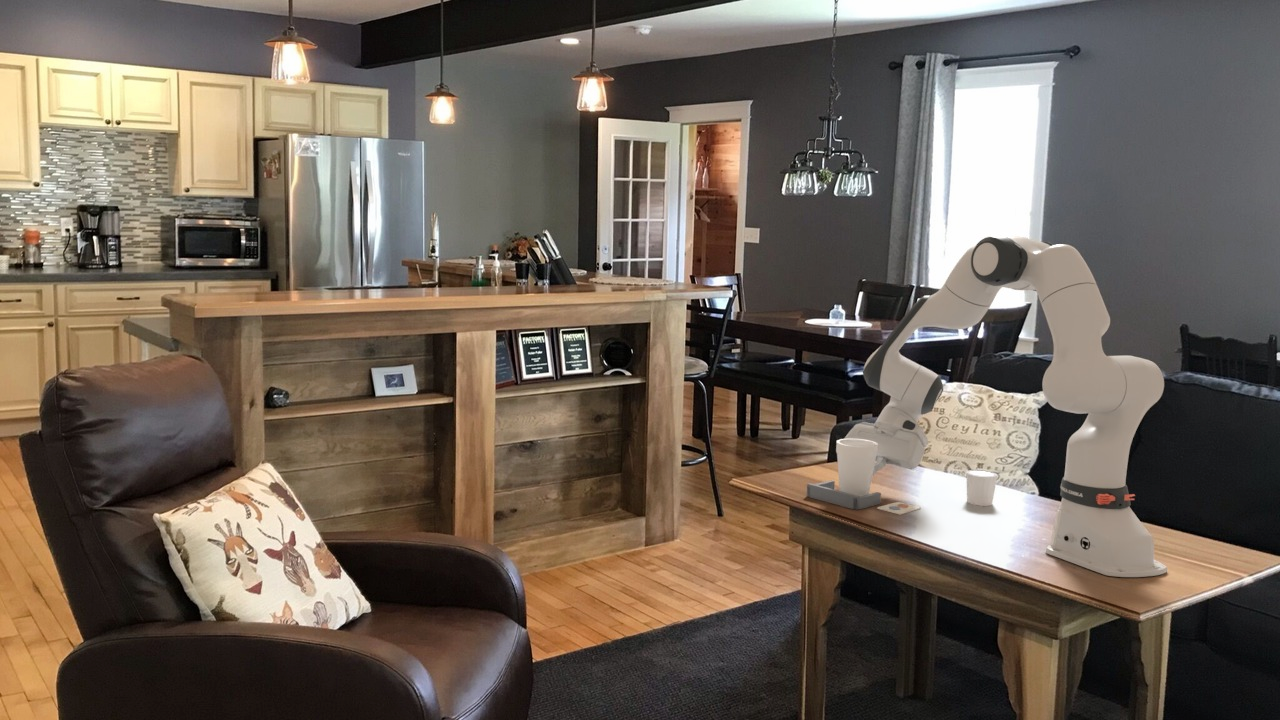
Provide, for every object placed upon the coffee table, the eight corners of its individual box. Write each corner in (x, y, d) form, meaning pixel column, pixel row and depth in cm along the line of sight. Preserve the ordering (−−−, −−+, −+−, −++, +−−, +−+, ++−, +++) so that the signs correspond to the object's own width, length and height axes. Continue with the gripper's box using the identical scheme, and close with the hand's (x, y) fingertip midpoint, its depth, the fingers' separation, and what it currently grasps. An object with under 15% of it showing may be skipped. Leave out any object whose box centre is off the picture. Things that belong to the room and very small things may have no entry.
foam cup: (869, 493, 250) (872, 439, 248) (879, 503, 240) (883, 447, 239) (829, 492, 249) (832, 438, 247) (837, 502, 240) (841, 446, 238)
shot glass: (991, 499, 248) (993, 470, 247) (998, 507, 241) (1000, 477, 240) (961, 497, 248) (963, 468, 248) (967, 505, 242) (969, 475, 241)
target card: (897, 503, 242) (897, 500, 242) (920, 508, 237) (920, 506, 237) (877, 508, 236) (877, 506, 236) (900, 514, 232) (900, 512, 232)
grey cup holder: (830, 490, 251) (831, 478, 250) (880, 503, 241) (881, 490, 240) (806, 496, 245) (807, 483, 244) (856, 510, 235) (857, 496, 234)
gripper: (853, 412, 259) (825, 457, 254) (925, 427, 244) (898, 474, 239) (862, 428, 263) (836, 472, 258) (935, 443, 248) (908, 490, 243)
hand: (866, 473), depth 248 cm, fingers closed, pressing on foam cup
